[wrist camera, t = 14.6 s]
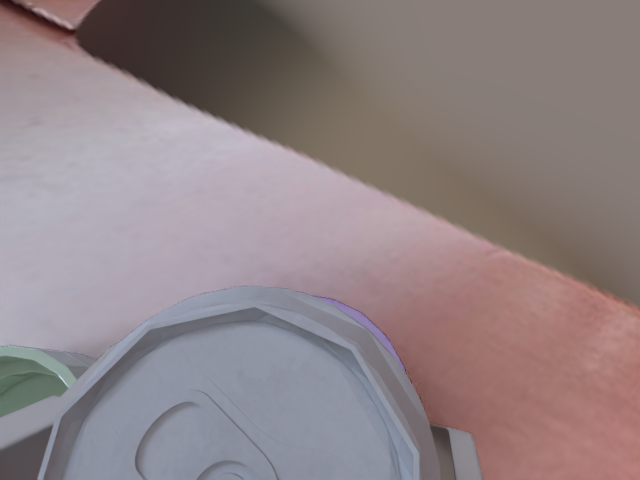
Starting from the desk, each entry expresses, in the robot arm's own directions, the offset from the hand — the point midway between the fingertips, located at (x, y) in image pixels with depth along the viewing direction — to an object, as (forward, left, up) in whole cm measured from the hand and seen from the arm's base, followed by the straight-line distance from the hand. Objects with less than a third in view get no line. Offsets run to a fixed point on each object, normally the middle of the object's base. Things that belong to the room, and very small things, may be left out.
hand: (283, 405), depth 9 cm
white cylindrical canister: (0, -1, -7) cm, 7 cm away
